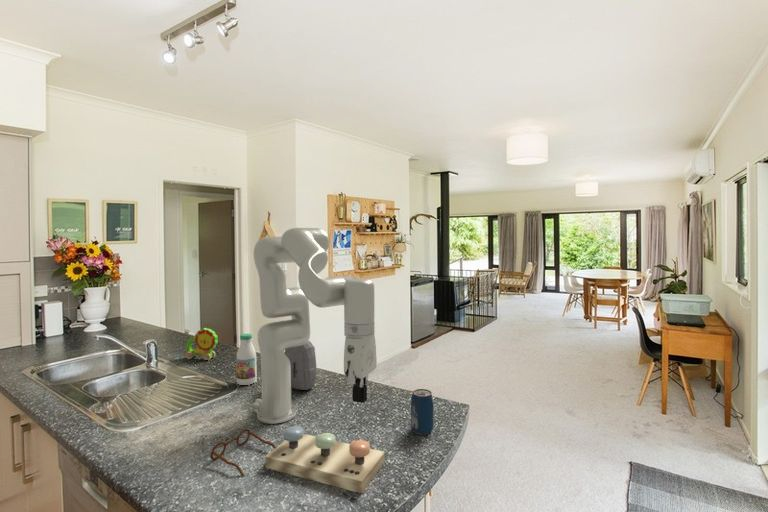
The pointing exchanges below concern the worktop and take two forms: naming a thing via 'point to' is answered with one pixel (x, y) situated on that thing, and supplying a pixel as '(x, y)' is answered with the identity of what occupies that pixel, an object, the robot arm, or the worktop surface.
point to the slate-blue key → (293, 433)
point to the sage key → (325, 440)
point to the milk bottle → (246, 361)
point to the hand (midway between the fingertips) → (359, 400)
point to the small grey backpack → (302, 366)
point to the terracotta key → (359, 448)
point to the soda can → (422, 411)
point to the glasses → (238, 445)
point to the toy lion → (202, 344)
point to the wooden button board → (326, 463)
